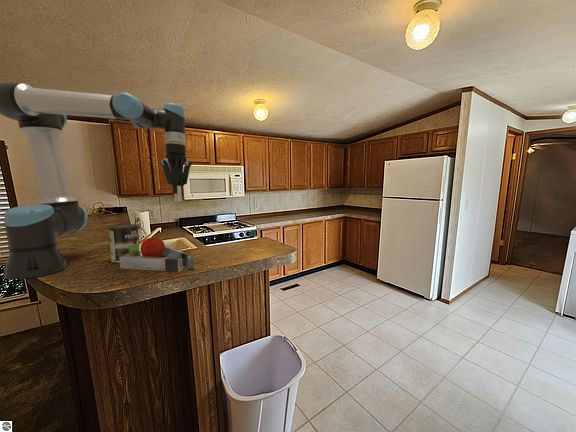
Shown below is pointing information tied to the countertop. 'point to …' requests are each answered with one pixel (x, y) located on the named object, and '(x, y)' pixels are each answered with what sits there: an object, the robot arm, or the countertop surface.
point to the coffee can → (123, 241)
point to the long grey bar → (155, 263)
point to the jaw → (176, 254)
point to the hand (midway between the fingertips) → (178, 201)
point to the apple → (152, 247)
